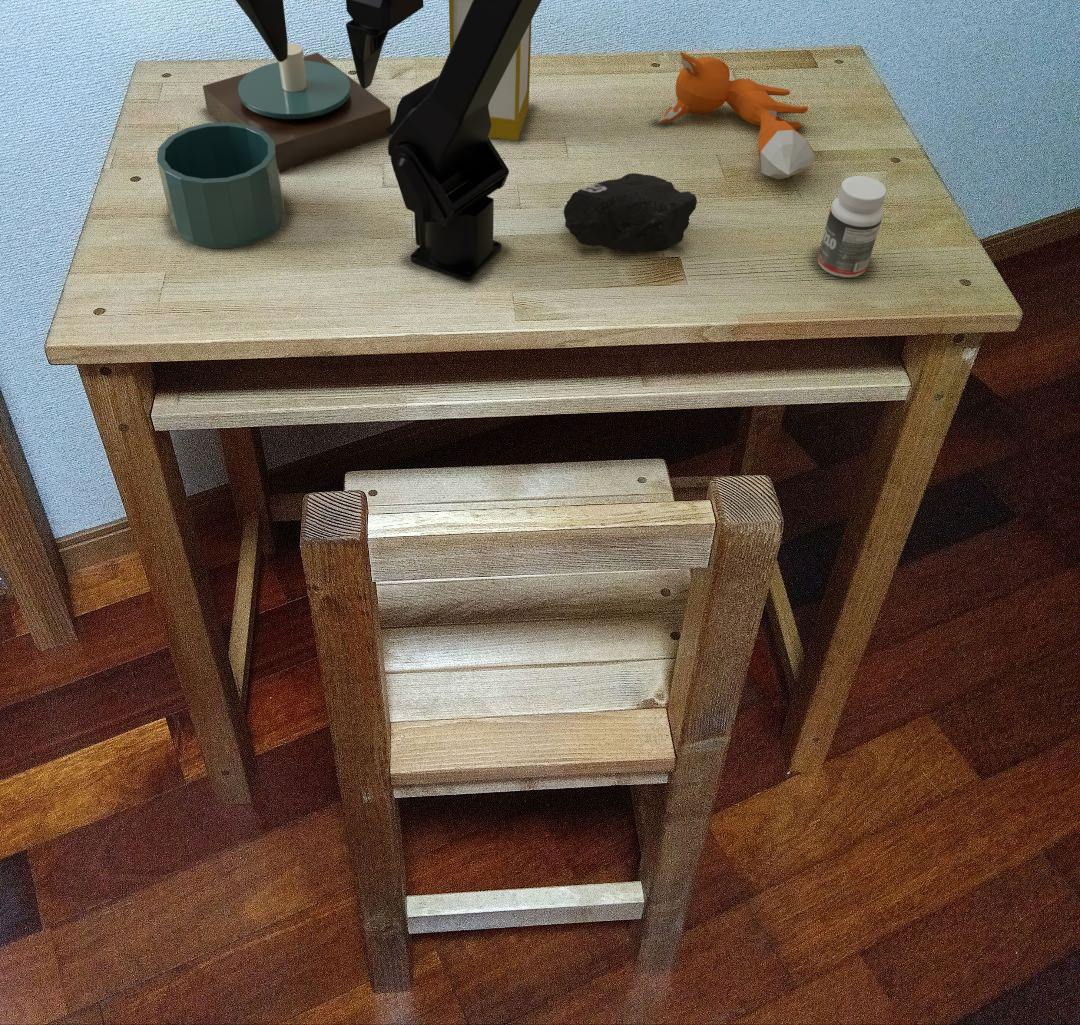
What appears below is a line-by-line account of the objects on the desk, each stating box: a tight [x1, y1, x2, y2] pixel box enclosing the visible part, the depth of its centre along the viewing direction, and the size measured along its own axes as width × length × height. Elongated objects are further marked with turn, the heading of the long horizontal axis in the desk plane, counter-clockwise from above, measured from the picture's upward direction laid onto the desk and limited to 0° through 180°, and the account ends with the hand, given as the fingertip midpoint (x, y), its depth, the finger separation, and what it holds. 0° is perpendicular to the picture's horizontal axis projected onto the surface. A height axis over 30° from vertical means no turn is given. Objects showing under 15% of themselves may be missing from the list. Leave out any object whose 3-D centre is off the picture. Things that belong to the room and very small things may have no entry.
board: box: [202, 52, 392, 173], centre depth 121 cm, size 15×14×3 cm
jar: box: [156, 122, 286, 250], centre depth 107 cm, size 11×11×7 cm
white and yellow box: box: [448, 0, 533, 141], centre depth 114 cm, size 7×13×24 cm, turn 171°
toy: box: [657, 51, 815, 180], centre depth 121 cm, size 8×22×15 cm
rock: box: [563, 172, 698, 254], centre depth 108 cm, size 10×9×6 cm
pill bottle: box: [817, 175, 887, 278], centre depth 106 cm, size 5×5×8 cm
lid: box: [238, 42, 351, 119], centre depth 118 cm, size 12×12×5 cm
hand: (324, 73), depth 103 cm, fingers open, 9 cm apart
